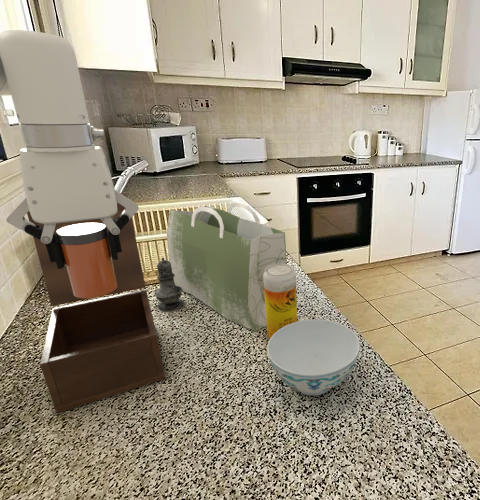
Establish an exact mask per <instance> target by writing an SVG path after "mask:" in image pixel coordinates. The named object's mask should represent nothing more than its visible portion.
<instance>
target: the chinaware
mask: <svg viewBox="0 0 480 500" xmlns="http://www.w3.org/2000/svg"><path fill="white" fill-rule="evenodd" d="M360 348H361V343H360V340H359V337H358V336H357V334H356V333H355V332H354V331H353V330H352V329H351V328H349V327H348V326H346V325H344V324H342V323H340V322H337V321H333V320H328V319H318V318H315V319H303V320H297V322H295V323H292V324H289V325H287V326H285V327H283V328H281V329H280V330H278V331H277V332H276V333H275V334H274V335H273V336H272V337H271V339H270V338H269V340H268V342H267V347H266V351H267V356H268V359H269V362H270V365H271V367H272V369H273V370H274V373H275V374H276V375H277V376H278V378H280V380H281V381H282V382H283V383H284V384H285V385H287V386H288V387H290V388H292V389H293V390H296V391H298V392H300V393H301V394H303V395H306V396H307V395H308V396H320V395H324V394H326V393H327V392H329V391H331V389H333V388H335V387H337V386H338V385H339V384H341V383H342V382H343V381H344V380H346V378H347V377H348V376H349V375H350V373H352V371H353V368H354V367H355V365H356V363H357V360H358V357H359V354H360Z"/></svg>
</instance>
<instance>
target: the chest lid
mask: <svg viewBox="0 0 480 500" xmlns="http://www.w3.org/2000/svg"><path fill="white" fill-rule="evenodd" d="M120 193H121V194H122V195H124V196H125V197H127V198H128V199H129V197H128V193H127V192H126V191H123V192H120ZM125 209H126V208H125V207H124V206H122V205H121V204H119V203H118V202H117V213H116V214H115V215H113V218H114V219H115V220H116V219H117V218H118V216H119V215H120V214H121V213H123V212H124V210H125ZM26 215H27V220H28V221H30V222H32V223H35V224H37V225H39V226H41V227H43V228H44V224H42V223H37V222H35V221H34V220H33V219H32V217H31V214H30V211H28V212H27V214H26ZM82 223H100V224H104V223H103V222H102V220H101V219H93V220H84V221H75V222H65V223H56V227H55V231H54V234H56V231H57V230H59V229H61V228H63V227H66V226H70V225H75V224H82ZM104 225H105V224H104ZM106 229H107V232H108V228H107V227H106ZM32 239H33V243H34V246H35V249H36V250H35V251H36V254H37V257H38V260H39V266H40V269H41V271H42V272H41V273H42V276H43V279H44V280H43V281H44V284H45V287H46V291H47V295H48V299H49V303H50V307H55V306H56V307H57V306H62V305H65V304H72V303H75V302H76V303H77V302H80V301H81V302H82V301H85V300H86V301H87V300H92V298H77V297H75V296H74V294H73V291H72V287H71V283H70V279H69V276H68V272H67V268H66V264H65V265H64V267H63V268H62V269H58V268H57V264H56V262H51V261H50V258H49V255H48V251H47V248H46V244H45V243H43V242H41V240H39V239H37V238H35V237H33V236H32ZM107 239H108V235H107ZM119 239H120V243H121V248H122V252H118V253H117V254H118V260H114V259H113V258H112V262H113V266H114V271H115V275H116V280H117V285H118V286H117V288H116V289H115V290H114V291H113V292H111V293H109V294H106V295H103V296H100V297H99V298H102V297H107V296H110V295H111V296H112V295H115V294H116V295H117V294H120V293H121V294H122V293H127V292H132V291H137V290H142V289H146V282H145V278H144V271H143V268H142V262H141V257H140V251H139V247H138V242H137V237H136V232H135V227H134V222H133V217H131V218H130V220H129V222H128V223H127V224H126V225H125V226H124V227H123V228H122V229H121V231H120V233H119ZM108 243H109V240H108ZM109 248H110V245H109ZM110 252H111V249H110ZM111 257H112V254H111ZM94 299H97V297H95V298H94Z"/></svg>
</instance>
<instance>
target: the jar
mask: <svg viewBox="0 0 480 500" xmlns="http://www.w3.org/2000/svg"><path fill="white" fill-rule="evenodd" d="M107 235H108V233H107V229H106V226H105V225H104V224H100V223H82V224H75V225H70V226H66V227H63V228H61V229H59V230H57V231H56V236H57V240H58V242H59V243H60V246H61V250H62V253H63V257H64V261H65V264H66V268H67V272H68V276H69V279H70V283H71V287H72V291H73V294H74V296H75V297H77V298H91V299H96V298H101V297H104V296H103V295H106V294H109V293H111V292H113V291H114V290H115V289H116V288H117V286H118V285H117V280H116V275H115V271H114V266H113V262H112V257H111V252H110V248H109V243H108V239H107ZM100 296H101V297H100ZM106 296H107V295H106ZM95 297H96V298H95Z"/></svg>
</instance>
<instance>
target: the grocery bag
mask: <svg viewBox="0 0 480 500" xmlns="http://www.w3.org/2000/svg"><path fill="white" fill-rule="evenodd" d="M235 207H239V208H243V209H245V210H246V211H248V213H250V214H251V215H252V217H253V219H254V221H253V220H249V219H245V218H242V217H239V216H237V215H235V214H233V213H232V209H233V208H235ZM167 220H168V221H167V229H166V240H167V241H166V242H167V251H168V252H167V254H168V261H169V262H170V263H171V267H172V273H174V274H175V276H174V283H175V285H176V286H180V287H181V288H182V289H183V290H182V292H184V293H187V294H189V295H192V296H193V297H195V298H196V299H197V300H199V301H201V302H202V303H203V304H205V305H206V306H208V307H209V308H211V309H212V310H213V311H215V312H216V313H218V314H219V315H221V316H223V317H224V318H225V319H226V320H229V321H231V322H233V323H235V324H238V325H240V326H242V327H244V328H247V329H249V330H251V331H254V332H258V331H259V330H261V329H263V328H264V327H267V323H266V308H265V293H264V279H263V275H264V272H265V269H266V268H267V267H268V266H270V265H273V264H287V245H286V244H287V243H286V242H287V241H286V232H285V231H282V230H279V229H277V228H274V227H272V226H268V225H266V224H264V223H261V221H260V220H261V219H260V217H259V216H258V214H257V213H256V211H255V210H254V209H253V208H252V207H251V206H249V205H247V204H245V203H242V202H237V201H233V202H231V203H230V204H229V205H228V206H227V211H226V210H223V209H220V208H217V207H213V206H208V205H204V206H201V205H200V206H198V207H196V208H194V210H193V211H187V210H186V211H185V210H175V209H169V211H168V219H167Z"/></svg>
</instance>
